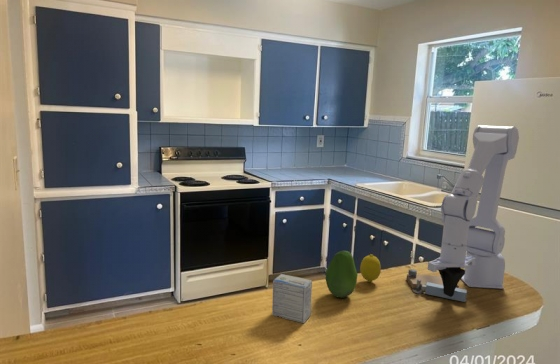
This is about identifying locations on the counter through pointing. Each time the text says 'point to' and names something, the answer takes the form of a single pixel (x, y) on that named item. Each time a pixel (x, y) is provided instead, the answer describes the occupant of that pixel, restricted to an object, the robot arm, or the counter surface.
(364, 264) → the lemon
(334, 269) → the avocado
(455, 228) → the robot arm
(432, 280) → the board
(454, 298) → the hinged leg
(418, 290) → the pivot pin
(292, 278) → the medicine box
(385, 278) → the counter surface
